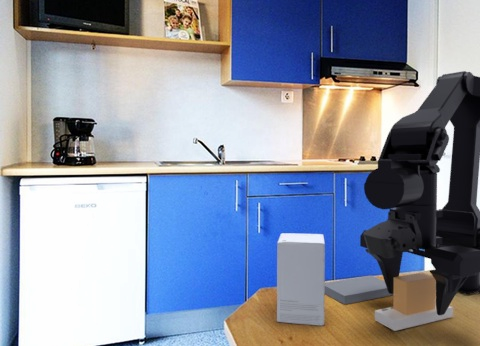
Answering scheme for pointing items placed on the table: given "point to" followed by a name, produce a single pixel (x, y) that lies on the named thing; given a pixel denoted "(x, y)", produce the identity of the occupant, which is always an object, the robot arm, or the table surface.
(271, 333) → the table surface
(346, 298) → the board
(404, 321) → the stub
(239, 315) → the table surface
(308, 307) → the supplement box
